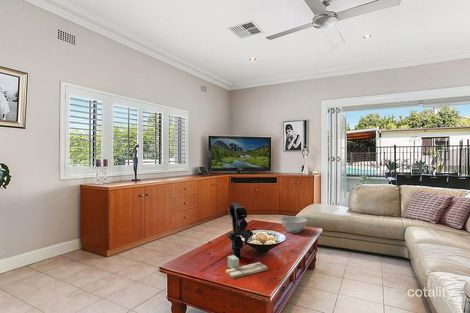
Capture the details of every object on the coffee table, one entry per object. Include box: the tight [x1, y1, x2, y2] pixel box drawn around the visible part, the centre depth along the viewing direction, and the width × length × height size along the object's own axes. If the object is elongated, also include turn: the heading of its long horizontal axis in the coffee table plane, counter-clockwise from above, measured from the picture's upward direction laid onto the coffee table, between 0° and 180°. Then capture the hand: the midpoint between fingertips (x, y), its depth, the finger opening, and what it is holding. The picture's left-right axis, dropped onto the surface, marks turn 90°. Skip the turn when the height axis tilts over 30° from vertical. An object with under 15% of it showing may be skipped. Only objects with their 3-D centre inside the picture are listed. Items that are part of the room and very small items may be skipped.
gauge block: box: [227, 254, 240, 269], centre depth 180 cm, size 10×5×7 cm, turn 30°
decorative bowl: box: [280, 215, 308, 234], centre depth 266 cm, size 27×27×12 cm
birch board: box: [225, 261, 269, 280], centre depth 174 cm, size 10×27×2 cm, turn 120°
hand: (240, 246), depth 186 cm, fingers open, 9 cm apart
